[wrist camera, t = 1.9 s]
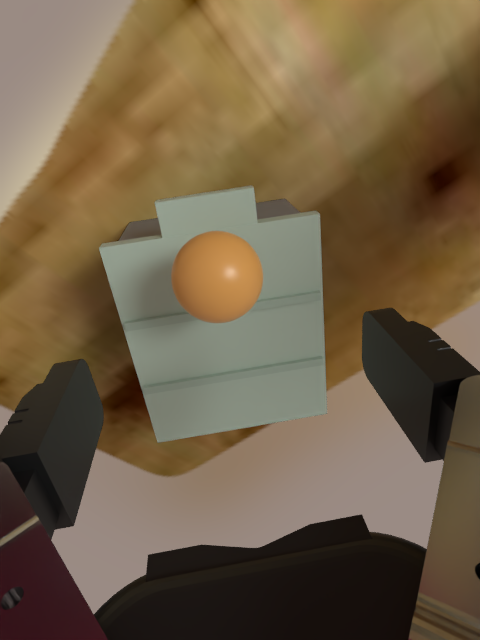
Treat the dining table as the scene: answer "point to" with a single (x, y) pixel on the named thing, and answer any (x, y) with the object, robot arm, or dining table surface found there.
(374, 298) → the dining table surface
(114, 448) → the dining table surface
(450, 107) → the dining table surface
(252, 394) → the lid
